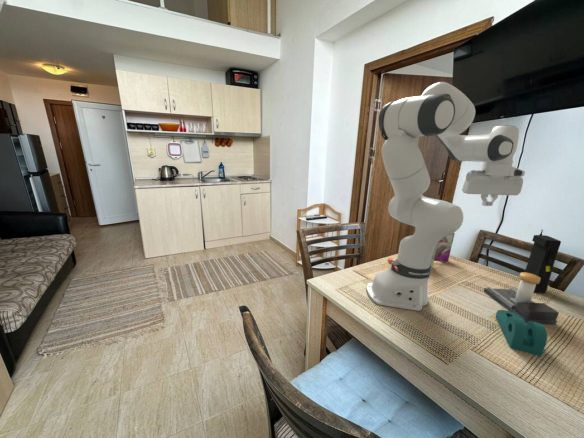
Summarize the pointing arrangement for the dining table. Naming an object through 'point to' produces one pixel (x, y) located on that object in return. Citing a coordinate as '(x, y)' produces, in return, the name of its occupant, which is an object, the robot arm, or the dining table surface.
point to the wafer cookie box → (444, 248)
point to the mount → (524, 307)
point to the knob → (525, 288)
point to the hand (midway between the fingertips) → (486, 205)
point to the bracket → (522, 333)
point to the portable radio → (542, 259)
